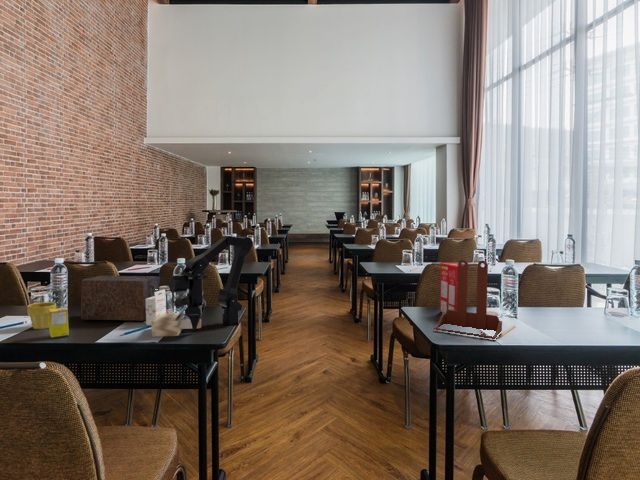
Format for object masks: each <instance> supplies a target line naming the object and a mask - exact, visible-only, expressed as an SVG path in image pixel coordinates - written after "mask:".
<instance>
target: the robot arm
mask: <svg viewBox="0 0 640 480" xmlns="http://www.w3.org/2000/svg"><path fill="white" fill-rule="evenodd" d="M229 246H231V247H232V246H233V247H232V249H233V258H232V263H231V266H230V268H229V274H228V277H227V281H226V285H225V286H224V287H223V288H220V289H218V290H219V291H218V295H217V303H218V304H219V306H220V307H221V309H222V310H223V312H222V323H223V326H239V324H240V320H239V319H240V317H239V316H240V314H239V313H240V311H242V308H243V305H242V304H241V303H240V302H239V301H238V296H239V294H238V286H239V281H240V277H241V274H242V269H243V267H244V263H245V259H246V257H247V256H249V255H248V254H250V252H251V250H252V247H253V246H254V243H253V240H252V239H251V237H249V236H237V237H236V236H232V235H223V236H222V237H221V238H220V239H219V240H217V241H216V242H215V243H214V244H213V245H211V246H210V247H209V248H208V249H206V250H205V251H204V252H202V253H201V254H199V255H195V256H193V257H192V258H191V259H189V260H187V261H186V264H185V267H184V269H183V270H182V272H181V273H180V274H179V275H175V274H173V275H171V276H170V279H169V282H168V289H169V292H170V293H172V294H174V293H181V292H187V291H188V292H187V293H186V295H185V296H182V297H180V296H179V297H178V298H177V297H176V298H175V300H174V301H173V303H174V304H173V305H174V306H175V308H176V310H177V309H179V308H182V307H183V306H186V308H185V309H184V315H185V317H188V319H190V320H191V324H192V330H193V331H197V329H198V328H197V325H198V322H199V320H200V319H201V320H202V316H203V314H204V311H205V308H206V305H207V304H206V303H207V302H206V299H204V289H203V288H204V286H203V285H204V283H203V280H204V279H208V276H207V275H206V274H205V273H204V272H205V271H206V269H207V268H208V267H209V265H210V263H211V261H213V260H214V259H215V258H217V256H218V255H220V254H221V253H222V252H224V251H225V250H226V249H227V248H229Z"/></svg>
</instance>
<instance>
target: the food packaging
mask: <svg viewBox="0 0 640 480" xmlns="http://www.w3.org/2000/svg"><path fill="white" fill-rule="evenodd" d="M461 265H462V266H464V264H461ZM439 279H440V280H439V283H440V284H439V312H440V311H442V312H445V313H446V312H447V311H448V310H456V311H457V287H458V263H452V262H440V277H439Z"/></svg>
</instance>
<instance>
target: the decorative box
mask: <svg viewBox="0 0 640 480" xmlns="http://www.w3.org/2000/svg"><path fill="white" fill-rule="evenodd" d="M160 279H161V278H160V276H154V275H149V276H148V275H147V276H146V275H99V276H98V275H97V276H93V277H87V278H83V279H82V280H81V291H80V292H81V293H80V303H81V304H80V305H81V306H80V307H81V308H80V309H81V310H80V313H81V314H80V317H81V318H80V319H81V320H84V321H85V320H87V321H88V320H92V321H94V320H97V321H99V320H100V321H138V322H139V321H140V322H143V321H146V299H147V298H150V297H153V296H155V294H154V293H155V292H157V291H158V290H159V291H160V286H161V285H160V283H161V282H160V281H161V280H160ZM155 289H158V290H157V291H156V290H155Z"/></svg>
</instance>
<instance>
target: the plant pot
mask: <svg viewBox="0 0 640 480" xmlns="http://www.w3.org/2000/svg"><path fill="white" fill-rule="evenodd" d="M54 308H57V303H56V302H51V301H50V302H49V301H46V302H45V301H43V302H35V303H30V304H27V306H26V312H27V315H29V317H30V321H31V326H32V329H34V330H43V329H44V330H45V329H49V309H54Z"/></svg>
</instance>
